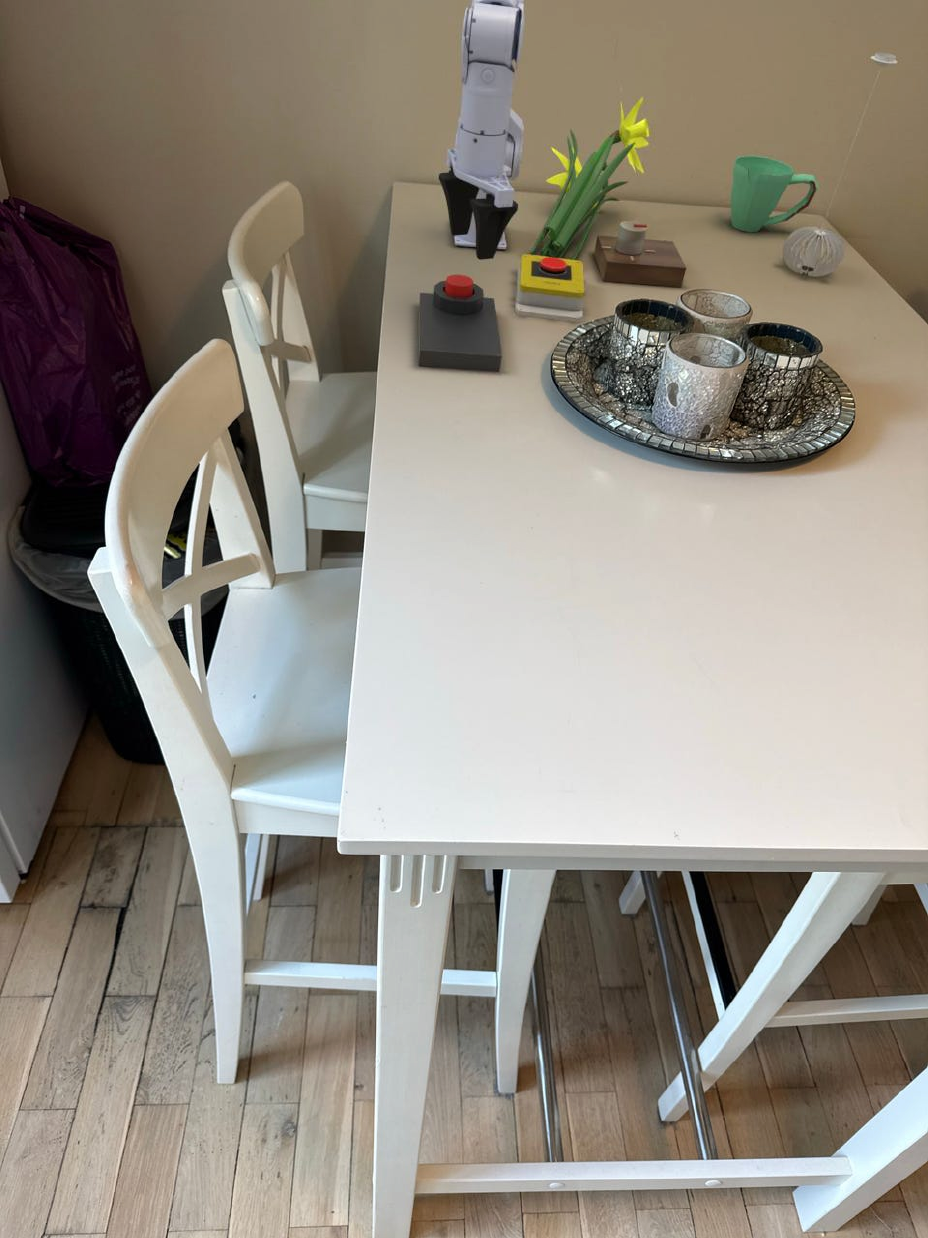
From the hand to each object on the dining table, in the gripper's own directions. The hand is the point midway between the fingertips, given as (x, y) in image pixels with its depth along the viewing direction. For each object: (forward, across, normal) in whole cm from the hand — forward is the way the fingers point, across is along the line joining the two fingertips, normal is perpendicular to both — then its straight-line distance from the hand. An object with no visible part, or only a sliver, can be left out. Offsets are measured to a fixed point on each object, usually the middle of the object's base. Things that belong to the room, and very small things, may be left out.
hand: (472, 245), depth 112 cm
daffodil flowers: (+10, +23, -32) cm, 41 cm away
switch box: (+10, -5, +4) cm, 11 cm away
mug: (+10, +18, -66) cm, 69 cm away
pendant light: (+10, +1, -62) cm, 63 cm away
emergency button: (+10, +3, -15) cm, 18 cm away
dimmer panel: (+9, +8, -33) cm, 35 cm away
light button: (+6, 0, +1) cm, 6 cm away
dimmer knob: (+6, +9, -31) cm, 33 cm away
